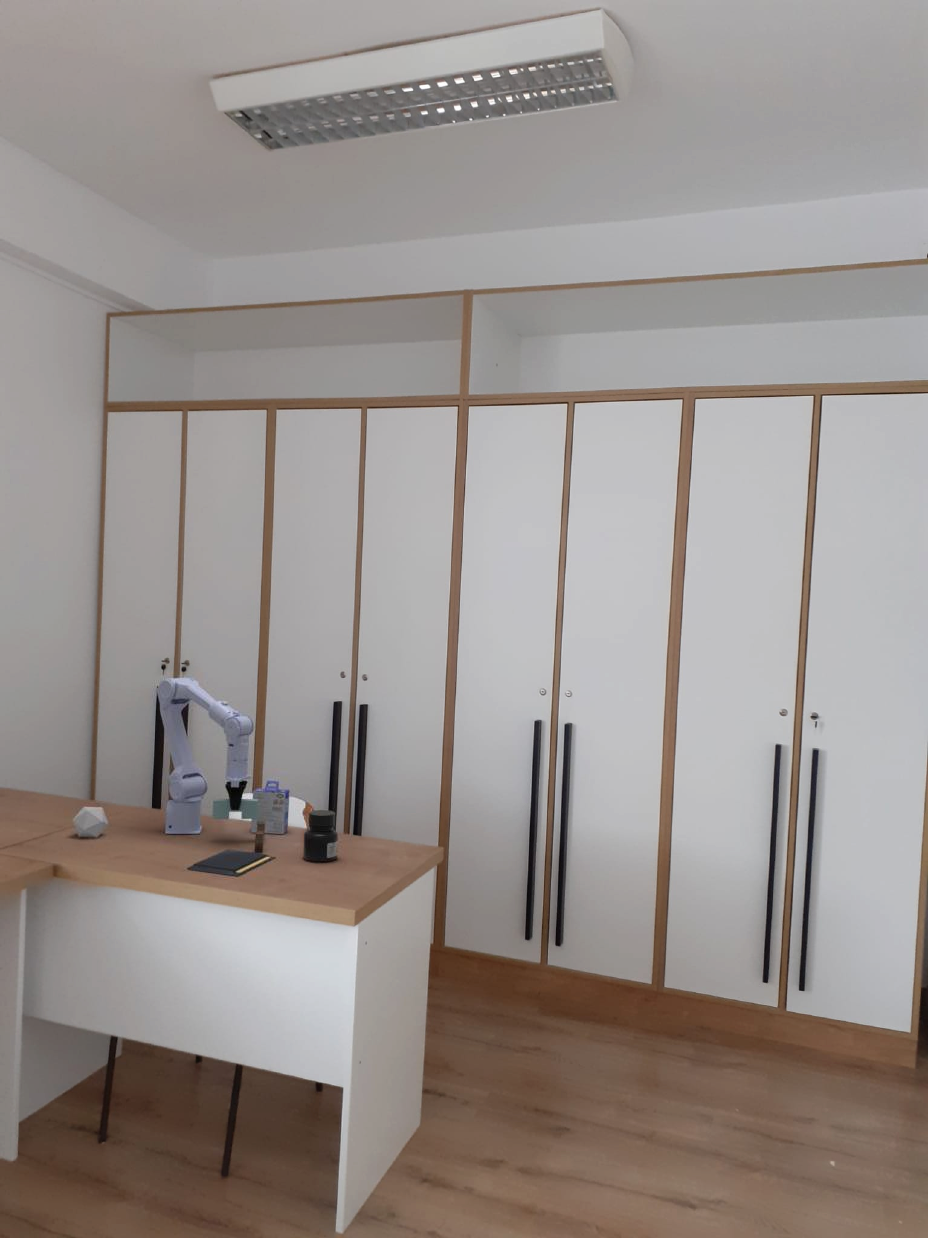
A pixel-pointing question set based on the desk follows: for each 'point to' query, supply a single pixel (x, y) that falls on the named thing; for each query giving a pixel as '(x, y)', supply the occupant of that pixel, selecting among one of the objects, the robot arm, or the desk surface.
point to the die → (90, 822)
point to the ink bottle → (321, 837)
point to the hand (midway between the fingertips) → (235, 808)
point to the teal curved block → (246, 807)
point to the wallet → (231, 863)
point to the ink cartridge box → (272, 809)
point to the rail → (259, 837)
